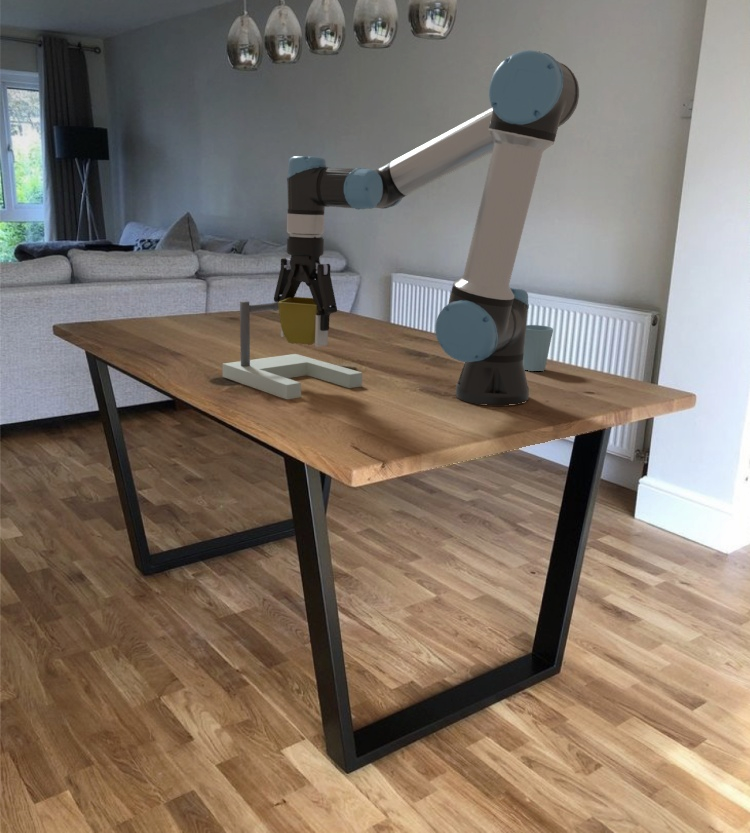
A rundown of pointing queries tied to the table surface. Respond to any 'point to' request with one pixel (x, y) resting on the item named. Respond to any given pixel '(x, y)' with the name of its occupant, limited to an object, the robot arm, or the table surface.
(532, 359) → the cup
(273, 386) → the l-shaped hook stand
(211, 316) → the table surface
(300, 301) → the flower pot
